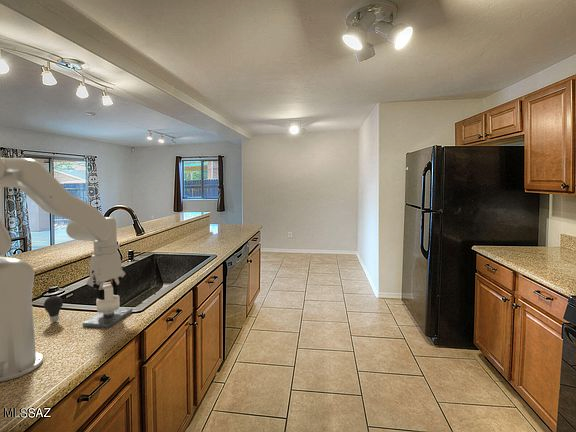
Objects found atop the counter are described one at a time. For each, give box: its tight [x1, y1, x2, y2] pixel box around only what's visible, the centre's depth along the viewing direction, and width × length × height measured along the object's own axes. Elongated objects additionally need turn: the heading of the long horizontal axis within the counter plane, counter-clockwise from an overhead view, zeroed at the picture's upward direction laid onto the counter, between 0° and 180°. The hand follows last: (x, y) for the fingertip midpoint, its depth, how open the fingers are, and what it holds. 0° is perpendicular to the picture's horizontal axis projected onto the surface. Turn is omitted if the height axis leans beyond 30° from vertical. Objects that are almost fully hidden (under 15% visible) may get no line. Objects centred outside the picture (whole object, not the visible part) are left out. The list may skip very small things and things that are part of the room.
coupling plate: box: [82, 307, 133, 329], centre depth 116 cm, size 14×10×4 cm
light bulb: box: [43, 295, 64, 323], centre depth 112 cm, size 6×6×10 cm
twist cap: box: [95, 281, 121, 313], centre depth 115 cm, size 8×8×9 cm
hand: (107, 296), depth 115 cm, fingers closed on twist cap, 4 cm apart
